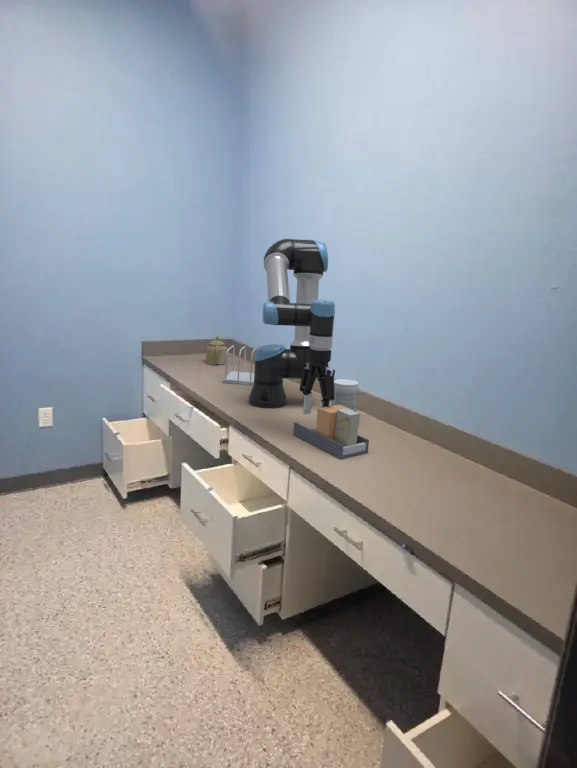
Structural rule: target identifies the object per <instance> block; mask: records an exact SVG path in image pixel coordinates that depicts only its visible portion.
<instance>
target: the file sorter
mask: <svg viewBox="0 0 577 768" xmlns="http://www.w3.org/2000/svg"><path fill="white" fill-rule="evenodd" d="M257 348H259V346H256V347H255V348H254V349H253V350H251V355H250V356H251V357H250V370H249V371H250V372H248V371H246V362H247V361H246V359H247V358H246V357H247V353H246V352H247V347H246V345H244V346H243V347H241V349H239V351H238V352H239V354H238V365H237V366H238V367H237V371H235V370H234V369H235V368H234V367H235V366H234V365H235V351H236V349H235V345H234V344H233V345H231V346H230V347H229V348H227V353H226V364H225V370H224V371H225V373H224V375H225V376H224V378H223V379H222V383H223V382H226V383H225V384H233V383H239V384H238V385H244V384H251V385H250V386H253V384H254V372H253V360H254V358H253V357H254V353H255V352H256V349H257ZM231 349H233V351H232V353H233V354H232V367H231V368H232V370H231V371H230V372H229V373H227V371H228V354H229V351H230V350H231ZM243 350H244V358H243V359H244V360H243V363H244V364H243V371H240V367H241V352H242V351H243Z"/></svg>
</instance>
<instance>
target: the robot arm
mask: <svg viewBox="0 0 577 768" xmlns="http://www.w3.org/2000/svg"><path fill="white" fill-rule="evenodd" d="M328 255H329V254H328V248H327V246H326V243H325V242H324V241H320V240H314V239H294V238H283V239H280V240H278V241H275V242H274V243H273V244H272V245H271V246H269V248H268V249H267V250H266V252H265V254H264V257H263V267H264V270H265V271H266V280H267V281H266V282H267V283H266V286H267V287H266V288H267V301H264V303H263V305H262V323H263V324H265V325H269V326H271V325H272V326H288V327H289V326H292V327H293V326H294V340H293V341H292V343H290V344H289V345H290V346H289V348H286V345H284V344H277V343H276V344H266V345H265V344H264V345H261V346H258V348H257V349H256V350H255V351H254V358H253V360H254V372H253V373H254V384H253V385H252V388H251V390H250V393H249V396H248V404H250V405H252V406H254V407H258V408H265V409H273V408H274V409H275V408H281V407H285V406H286V404H287V396H286V392H285V389H284V379H290V380H291V379H295V380H297V379H299V380H300V383H299V384H300V385H299V391H300V392H302V394H303V397H302V398H303V400H302V403H303V409H302V414H303V415H310V414H311V413H312V399H313V392H312V389H313V387H314V384H315V382H316V379H317V381H318V383H319V387H320V393H321V400H320V403H319V404H320V405H319V408H321V407H327V406H330V402H331V401H332V400H334V399H335V398H334V380H335V374H336V370H335V369H331V368H330V367H329V362H331V360H332V350H331V349H333V339H334V337H333V336H334V335H333V333H334V332H333V331H334V325H335V324H334V323H335V322H334V321H335V314H336V309H335V308H336V307H335V306H336V305H335V304H336V303H335V302H334V301H333V300H327V299H319V285H320V280H321V279H322V278H323V277H324V273H326V272H327V271H328V268H329V267H328V266H329V256H328ZM288 270H289V271H290V270H291V271H293V277H294V278H296V301H295V302H293V303H292V302H291V299H290V287H289V277H288Z"/></svg>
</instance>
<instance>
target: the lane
mask: <svg viewBox="0 0 577 768" xmlns="http://www.w3.org/2000/svg"><path fill="white" fill-rule="evenodd" d="M292 434H293V436H294V437H296V438H298V439H300V440H303V441H304V442H307V443H309V444H310V445H312V446H315V447H316V448H319V449H320V450H322V451H325V452H326V453H328V454H330V455H332V456H334V457H336V458H338V459H340V460H343V459H348V458H351V457H355V456H356V457H357V456H359V455H365V454H368V453H369V444H370V439H368V438H366V437H365V436H364V437H363V436H362V435H359V434H357V442H356V444H354V445H350V446H345V447H343V446H344V445H342V444H340V443H338V442H336V441H334V440H331V439H329V438H327V437H325V436H323V435H321V434H319V433H317V432H316V428H312V429H311V428H308V427H307V426H304V425H302V424H300V423H298V422H293V433H292Z"/></svg>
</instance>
